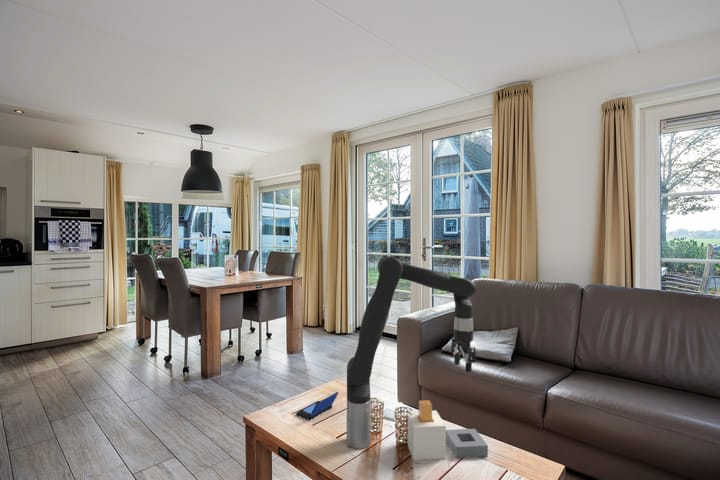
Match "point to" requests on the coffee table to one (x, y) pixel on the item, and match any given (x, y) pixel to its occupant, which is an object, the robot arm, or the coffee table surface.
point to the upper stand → (426, 437)
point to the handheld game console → (317, 407)
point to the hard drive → (389, 414)
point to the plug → (425, 411)
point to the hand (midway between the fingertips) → (462, 368)
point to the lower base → (466, 443)
